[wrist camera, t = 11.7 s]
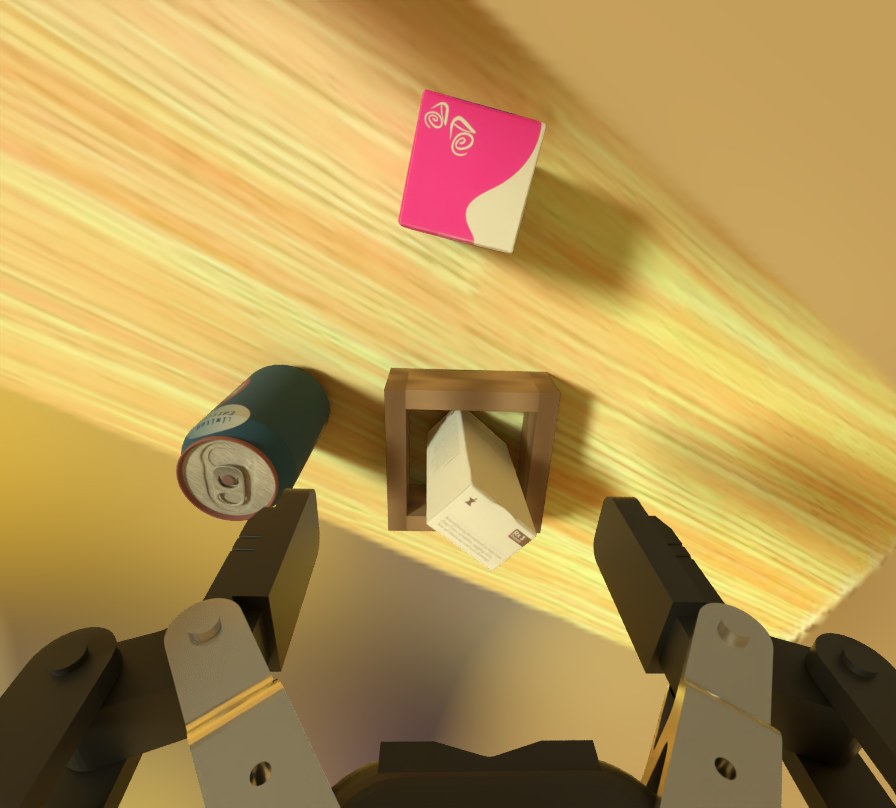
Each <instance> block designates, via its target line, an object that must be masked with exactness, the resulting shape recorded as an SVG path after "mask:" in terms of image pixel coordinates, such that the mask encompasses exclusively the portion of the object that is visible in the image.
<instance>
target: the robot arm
mask: <svg viewBox="0 0 896 808" xmlns="http://www.w3.org/2000/svg"><path fill="white" fill-rule="evenodd" d="M318 548H319V524H318V512H317V501H316V493H315V490H314V489H289V488H286V489H285V490H284V491H283V493H282V495H281V497H280V499H279V501H278V503H277V505H276V507H263V508H262V509H260V510H259V511H258V512H257V513H256V514H254V515H253V516H252V517H251V518H250V519H249V520H248V521H247V523H246V525H245V526H244V528H243V530H242V531H241V533H240V535H239V538H238V539H237V541H236V542H235V544H234V546H233V549H232V551H230V553H229V555H228V557H227V558H226V560H225V562H224V564H223V566H222V567H221V569H220V571H219V573H218V575H217V576H216V578H215V580H214V582H213V584H212V585H211V587H210V589H209V591H208V593H207V594H206V596H205V598H204V599H203V601H201V602H199V603H196V604H194V605H192V606H190V607H189V608H187V609H186V610H184V611H183V612H182V613H180V614H179V615H178V616H177V617H176V618H175V619H174V620H173V621H172V623H171V624H170V625H169V627H168V628H167V629H165V630H162V631H159V632H155V633H152V634H148V635H144V636H140V637H136V638H133V639H129V640H124V641H121V642H117V641H116V638H115V636H114V635H113V633H112V632H110V631H109V630H107V629H105V628H100V627H90V628H84V629H79V630H76V631H73V632H70V633H68V634H66V635H63V636H61V637H60V638H58V639H56V640H54V641H53V642H51V643H49V644H48V645H46V646H45V647H44V648H43V649H41V650H40V651H39V652H38V653H37V654H36V655H35V656H33V658H32V659H31V660H30V661H29V662H28V663H27V664H26V666H25V667H24V668H23V670H22V671H21V672H20V673H19V675H18V676H17V677H16V678H15V680H14V681H13V682H12V683H11V685H10V686H9V687H8V689H7V690H6V691H5V692H4V694H3V695H2V696H1V698H0V808H118V806H119V804H120V802H121V800H122V798H123V796H124V793H125V791H126V789H127V787H128V785H129V782H130V780H131V778H132V776H133V773H134V771H135V769H136V767H137V765H138V763H139V761H140V758H141V756H142V754H143V753H145V752H148V751H151V750H154V749H157V748H160V747H163V746H166V745H169V744H171V743H175V742H178V741H180V740H183V739H186V738H188V743H189V746H190V751H191V754H192V758H193V762H194V766H195V770H196V773H197V777H198V781H199V785H200V789H201V792H202V796H203V800H204V804H205V808H781V793H782V792H781V791H782V760H783V762H784V764H785V766H786V767H787V769H788V771H789V773H790V775H791V776H792V778H793V780H794V782H795V783H796V785H797V787H798V788H799V790H800V792H801V794H802V796H803V798H804V799H805V801H806V803H807V805H808V806H809V808H896V806H895V804H894V803H893V802H892V800H891V799H890V797H889V796H888V795H887V793H886V792H885V790H884V789H883V787H882V786H881V785H880V783H879V782H878V781H877V779H876V778H875V776H874V775H873V773H872V772H871V770H870V769H869V768H868V766H867V765H866V763H865V762H864V761H863V759H862V758H861V757H860V755H859V754H858V752H859V751H860V749H861V748H863V749H864V751H865V752H866V753H867V755H868V756H869V757H870V759H871V760H872V762H873V763H874V764H875V766H876V767H877V769H878V770H879V771H880V773H881V774H882V775H883V777H884V778H885V780H886V781H887V782H888V784H889V785H890V786H891V788H892V789H893V791H894V792H895V794H896V669H895V668H894V667H893V666H892V665H891V664H890V663H889V662H888V661H887V660H886V659H884V658H883V657H882V656H881V655H880V654H878V653H877V652H876V651H874V650H873V649H871V648H870V647H868V646H866V645H865V644H862V643H861V642H859V641H857V640H855V639H852V638H850V637H847V636H844V635H840V634H834V633H826V634H822V635H820V636H819V637H818V638H817V639H816V640H815V642H814V644H813V645H812V647H807V646H803V645H800V644H796V643H792V642H789V641H785V640H782V639H778V638H774V637H771V636H769V634H768V632H767V631H766V630H765V628H764V627H763V626H762V625H761V624H760V623H759V622H758V621H757V620H755V619H754V618H753V617H752V616H750V615H749V614H747V613H745V612H744V611H742V610H740V609H738V608H736V607H733V606H730V605H727V604H725V603H724V602H723V601H722V599H721V598H720V596H719V595H718V594H717V592H716V591H715V589H714V588H713V587H712V585H711V584H710V582H709V581H708V580H707V578H706V577H705V575H704V574H703V572H702V571H701V570H700V568H699V567H698V565H697V564H696V563H695V561H694V560H693V559H691V556H690V554H689V553H688V551H687V550H686V549H685V547H682V543H681V542H680V540H679V539H678V537H677V536H676V535H675V533H674V532H673V530H672V529H671V528H670V527H668V526H667V525H666V524H665V523H663V522H662V521H661V520H660V519H658V518H657V517H656V516H648V514H647V513H646V511H645V510H644V508H643V507H642V505H641V504H640V502H639V501H638V500H637V499H636V498H635V497H606V498H605V500H604V502H603V505H602V509H601V513H600V517H599V521H598V525H597V529H596V533H595V537H594V555H595V559H596V562H597V565H598V567H599V569H600V571H601V574H602V576H603V578H604V580H605V583H606V585H607V587H608V589H609V592H610V594H611V596H612V598H613V600H614V603H615V605H616V607H617V609H618V612H619V614H620V616H621V618H622V621H623V623H624V625H625V627H626V630H627V632H628V634H629V636H630V639H631V641H632V643H633V645H634V648H635V650H636V652H637V654H638V657H639V659H640V661H641V663H642V665H643V668H644V670H645V672H646V673H665V675H666V678H667V680H668V682H669V685H668V687H667V690H666V693H665V696H664V700H663V704H662V708H661V712H660V715H659V719H658V723H657V727H656V731H655V735H654V738H653V742H652V746H651V750H650V754H649V757H648V761H647V764H646V768H645V771H644V774H643V776H642V779H641V782H640V781H638V780H637V779H636V778H634V777H633V776H632V775H630V774H628V773H626V772H625V771H623V770H621V769H619V768H617V767H615V766H613V765H611V764H608V763H606V762H604V761H600V760H598V757H597V753H596V750H595V746H594V743H593V740H568V741H539V742H536V743H533V744H530V745H527V746H524V747H521V748H518V749H515V750H512V751H509V752H506V753H503V754H500V755H497V756H493V757H486V756H482V755H479V754H475V753H471V752H468V751H464V750H461V749H458V748H455V747H451V746H448V745H444V744H441V743H437V742H434V741H432V742H381V745H380V756H379V760H378V761H376V762H372V763H369V764H367V765H365V766H363V767H361V768H358V769H357V770H355V771H353V772H351V773H350V774H348V775H347V776H345V777H344V778H342V779H341V780H340V781H339V782H337V783H336V784H335V785H334V786H332V787H330V785H329V783H328V781H327V778H326V776H325V774H324V772H323V770H322V768H321V766H320V764H319V761H318V759H317V757H316V755H315V753H314V751H313V749H312V747H311V745H310V743H309V740H308V738H307V736H306V734H305V732H304V730H303V728H302V726H301V723H300V721H299V719H298V717H297V715H296V713H295V711H294V709H293V706H292V705H291V702H290V700H289V698H288V696H287V694H286V692H285V690H284V688H283V686H282V684H281V682H280V681H279V680H278V679H276V680H274V679H273V677H272V675H271V673H270V672H271V671H272V672H273V671H274V672H278V671H281V670H282V667H283V664H284V660H285V657H286V654H287V651H288V648H289V644H290V641H291V638H292V635H293V631H294V628H295V625H296V622H297V619H298V616H299V612H300V609H301V606H302V603H303V600H304V596H305V593H306V590H307V587H308V584H309V580H310V577H311V574H312V571H313V568H314V565H315V561H316V558H317V554H318Z"/></svg>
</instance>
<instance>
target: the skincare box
mask: <svg viewBox="0 0 896 808" xmlns="http://www.w3.org/2000/svg"><path fill="white" fill-rule="evenodd" d="M426 516H427V520H426V522H427V525H428V526H430V527H431V528H433V529H434V530H436V531H437V532H438V533H440V534H441V535H443V536H444V537H445V538H447V539H448V540H450V541H451V542H452V543H454V544H455V545H457V546H458V547H459V548H461V549H462V550H464V551H465V552H466V553H468V554H469V555H470V556H472V557H473V558H475V559H476V560H477V561H479V562H480V563H482V564H483V565H484V566H486V567H487V568H488V569H490V570H491V571H493V570H494V569H496V568H497V567H498V566H500V565H501V564H502V563H503V562H505V561H506V560H507V559H509V558H510V557H511V556H512V555H513V554H515V553H516V552H517V551H518V550H520V549H521V548H522V547H523V546H524V545H526V544H527V543H528V542H529V541H531V540H532V539H534V538H535V537H536V535H537V534H536V531H535V528H534V525H533V522H532V519H531V516H530V513H529V510H528V507H527V504H526V501H525V498H524V495H523V492H522V489H521V486H520V483H519V480H518V477H517V474H516V471H515V469H514V466H513V463H512V460H511V457H510V454H509V451H508V448H507V445H506V443H505V442H504V441H502V440H501V439H500V438H499V437H498V436H497V435H496V434H494V433H493V432H492V431H491V430H490V429H489V428H488V427H486V426H485V425H484V424H483V423H482V422H481V421H480V420H479V419H477V418H476V417H475V416H474V415H473V414H472V413H471V412H469V411H466V410H451V411H450V412H448V413H447V414H446V415H445V416H444V417H443V418H442V419H441V420H440V421H439V422H438V423H437V424H436V425H435V426H434V427H433V428H432V429H430V430H429V431H428V433H427V514H426Z"/></svg>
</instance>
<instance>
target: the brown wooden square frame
mask: <svg viewBox="0 0 896 808" xmlns="http://www.w3.org/2000/svg"><path fill="white" fill-rule="evenodd" d="M384 396H385V430H386V464H387V499H388V530H390V531H436V530H434V529H433V528H431V527H430V526H428V525H427V522H426V520H427V516H426V514H427V485H418V484H410V409H424V410H466V411H508V412H524V417H523V426H522V435H521V444H520V453H519V462H518V471H517V477H518V480H519V483H520V486H521V489H522V492H523V495H524V498H525V501H526V504H527V507H528V510H529V513H530V516H531V519H532V522H533V525H534V528H535V531H536V533H540V530H541V523H542V517H543V510H544V503H545V496H546V489H547V483H548V476H549V469H550V462H551V455H552V448H553V442H554V435H555V428H556V421H557V414H558V407H559V401H560V392H559V391H558V389H557V387H556V386H555V384H554V383H553V381H552V379H551V378H550V376H549V374H548V373H547V372H522V371H483V370H445V369H406V368H391V370H390V373H389V376H388V379H387V382H386V386H385V389H384Z"/></svg>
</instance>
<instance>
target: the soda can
mask: <svg viewBox="0 0 896 808" xmlns="http://www.w3.org/2000/svg"><path fill="white" fill-rule="evenodd" d="M329 411H330V410H329V401H328V398H327V395H326V393H325V391H324V389H323V388H322V386H321V385H320V383H319V382H318V381H317V380H316V379H315V378H314V377H312V376H311V375H310V374H308V373H307V372H305V371H303V370H301V369H299V368H296V367H293V366H288V365H272V366H267V367H264V368H262V369H260V370H258V371H256V372H255V373H253V374H252V375H251V376H250V377H249V378H248V379H247V380H246V381H244V382H243V383H242V384H241V385H240V386H239V387H238V388H237V389H236V390H235V391H233V392H232V393H231V394H230V395H229V396H228V397H227V398H226V399H225V400H223V401H222V402H221V403H220V404H219V405H218V406H217V407H216V408H215V409H214V410H212V411H211V412H210V413H209V414H208V415H207V416H206V417H205V418H204V419H202V420H201V421H200V422H199V423H198V424H197V425H196V426H195V427H194V428H193V429H192V430H191V431H190V432H189V433H188V435H187V436H186V438H185V440H184V442H183V446H182V451H181V456H180V458H179V460H178V463H177V470H176V474H177V480H178V483H179V486H180V488H181V490H182V492H183V493H184V495H185V496H186V497H187V499H188V500H189V501H190V502H191V503H192V504H193V505H194V506H196V507H197V508H198V509H200V510H201V511H203V512H205V513H206V514H209V515H211V516H213V517H216V518H220V519H224V520H230V521H243V520H248V519H250V518H251V517H252V516H253V515H254V514H256V513H257V512H258V511H259V510H260V509H262V508H263V507H272V506H274V505H276V504H277V503H278V501H279V499H280V497H281V495H282V493H283V491H284V490H285V489H286V488H289V489H292V488H293V486H294V484H295V482H296V480H297V479H298V477H299V475H300V473H301V471H302V469H303V467H304V465H305V464H306V462H307V460H308V458H309V456H310V454H311V452H312V450H313V449H314V447H315V445H316V443H317V441H318V439H319V437H320V435H321V434H322V432H323V430H324V428H325V426H326V424H327V422H328V418H329Z"/></svg>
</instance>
